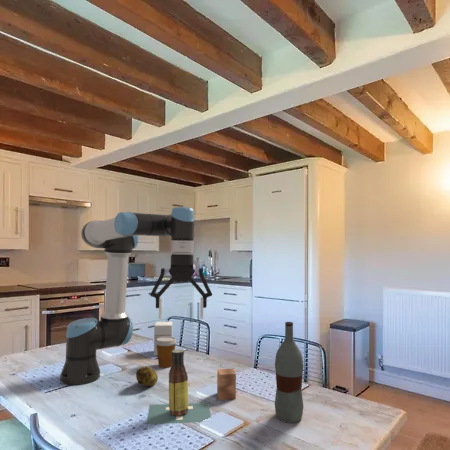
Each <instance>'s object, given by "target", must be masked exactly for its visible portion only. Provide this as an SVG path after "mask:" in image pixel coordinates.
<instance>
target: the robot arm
mask: <svg viewBox="0 0 450 450" xmlns="http://www.w3.org/2000/svg"><path fill="white" fill-rule="evenodd" d="M194 215H195V210H194V209H193V208H192V207H188V206H187V207H185V206H175V207H173V208H172V209H171V214H157V213H141V212H131V211H123V212H122V211H121V212H118V213H117V214H116V215H115V217H113V218H109V219H106V220H97V219H96V220H92V221H89V222H87V223H85V224H84V226H82V229H81V231H80V232H81V239H82V240H83V242H84V244H86V245H88V246H89V247H92V248H96V249H104V254H105V255H106V256H107V267H106V280H105V281H106V282H105V295H104V296H105V299H104V311H103V312H102V313H101V314H100V320H98V319H97V318H96V317H84V318H80V319H76V320H74V321H71V322H70V323H69V324H67V327H66V333H65V338H66V341H65V342H66V344H65V345H66V346H65V361H64V364H63V367H62V369H61V372H60V378H59V379H60V380H59V381H60V383H61V384H64V385H72V386H73V385H75V386H76V385H86V384H90V383H92V382H95V381H97V380H99V379H100V377H101V370H100V365H99V363H98V360H97V350H101V349H102V350H103V349H107V348H108V349H109V348H113V347H115V348H116V347H120V346H125V345H126V344H128V343H129V342H130V341H131V339H132V337H133V333H134V332H133V331H134V325H133V321H132V318H130V317H129V314H128V313H127V311H126V299H127V287H128V286H127V284H128V268H129V267H128V266H129V256H131V255H132V254H133V250H134V249H136V248H137V246H138V244H139V236H146V237H147V236H149V237H150V236H151V237H163V238H165V237H171V238H170V239H171V240H170V252H171V255H170V267H169V268H164V267H162V268H161V269H160V274H159V277H158V279H157V281H156V282H155V284H154V286H153V289H152V291H151V292H150V295H149V296H150V297H152V298H154V299H155V308H156V309H158V320H162V317H163V316H162V313H163V311H162V309H163V306H162V304H163V297H161V296H162V295H163V294H164V293H165V292H166V290H168V289H169V287H170V286H171V285H172V284H173V283H174V281H175V282H177V283H181V282H183V283H187V282H188V281H189V282H190V283H191V284H192V286H193V287H194V288H195V289H196V290H197V292H198V293H199V294H200V295H201V297H200V302H199V303H200V304H199V305H200V311H199V314H200V315H199V316H200V319H201V320H202V319H204V309H206V308H207V307H208V306H207V305H208V304H207V303H208V302H207V299H208V298H210V297H212V296H213V293H212V291H211V288H210V286H209V284H208V283H207V281H206V278H205V276H204V270H203V268H202V267H199V268H194V255H193V254H192V253H194V248H195V247H194V245H195V244H194V243H195V241H194V236H195V235H194V234H195V216H194ZM168 273H169V274H170V278H169V280H168V281H167V282H166V283H165V284H164V286H163V287H162V288H161V289H160V290H159V291H158V293H156V292H157V290H158V289H159V286H160V284H161V283H162V280H163V279H164V277H165V276H166V275H167V274H168ZM195 273H196V275H197V276H198V277H199V278H200V281H201V282H202V284H203V286H204V289H205V290H206V293H205V292H204V290H203V289H202V288H201V287H200V285H199V284H198V283H197V282H196V280H195V279H194V278H193V275H194V274H195Z"/></svg>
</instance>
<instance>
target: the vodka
mask: <svg viewBox="0 0 450 450" xmlns="http://www.w3.org/2000/svg"><path fill="white" fill-rule="evenodd" d="M284 324H285V326H284V327H285V328H284V329H285V330H284V331H285V332H284V333H285V334H284V336H285V337H284V340H283V342H282V343H281V345H280V346H279V348H278V349H277V351H276V354H275V360H274V368H275V382H276V388H275V389H276V390H275V398H274V409H275V410H274V411H275V415H276V418H277V419H278V420H279V419H280V420H279V421H281V420H282V421H281V422H283V421H285V423H288V422H295V423H298V422H300V421H301V420H302V419H303V413H304V399H303V391H302V389H303V388H302V386H303V375H304V374H303V372H304V360H303V354H302V351H301V350H300V349H299V347H298V345H297V344H296V341H295V340H294V323H293V321H285V323H284ZM297 421H298V422H297Z"/></svg>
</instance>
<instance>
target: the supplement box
mask: <svg viewBox="0 0 450 450" xmlns="http://www.w3.org/2000/svg"><path fill="white" fill-rule="evenodd" d="M153 327H154V333H153V336H154V337H153V338H154V339H153V356H155V357H156V355H158V353H157V345H156V340H157V338H160V337H173V321H155V323H154V325H153Z"/></svg>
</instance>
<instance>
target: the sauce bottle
mask: <svg viewBox="0 0 450 450" xmlns="http://www.w3.org/2000/svg"><path fill="white" fill-rule="evenodd" d="M184 355H185V350H183V349H178V348H177V349H175V350H173V351H172V367H170V369H169V371H168V404H169V409H170V414H172V415H174V416H182V415H185V414H186V413H187V412H188V403H189V384H188V383H189V378H188V377H189V376H188V373H187V370H186V367H185V359H184Z"/></svg>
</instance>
